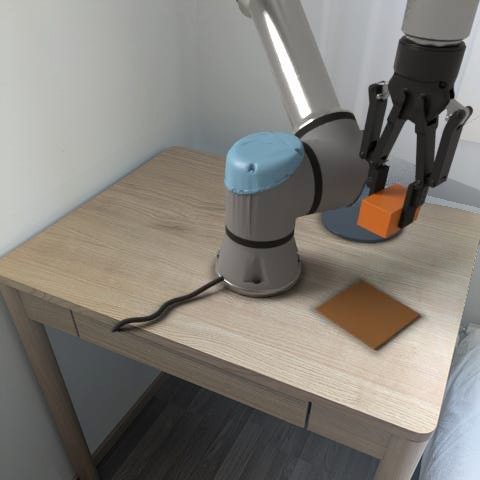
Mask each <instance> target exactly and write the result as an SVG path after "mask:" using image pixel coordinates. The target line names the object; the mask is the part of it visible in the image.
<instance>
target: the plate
mask: <svg viewBox="0 0 480 480" xmlns="http://www.w3.org/2000/svg"><path fill="white" fill-rule="evenodd" d="M360 208H361V203H358V204H355V205H353V206H351V207H343V208H338V209H334V210H329V211H324V212H321V214H320V221H321V224H322V225H323V227H324V228H325V229H326V230H327V231H329V232H330V233H331V234H333V235H334V236H337V237H339V238H342V239H344V240H346V241H351V242H357V243H365V244H366V243H369V244H370V243H381V242H383V241H387V240H390V239H391V238H393V237H395V235H397V233H398V232H399V231H397V232H396V233H394V234H392V235H391V236H389V237H387V238H386V239H385V238H383V237H381V236H379V235H377V234H375V233H373V232H371V231H369V230H367V229H365V228H363V227H361V226H359V225H357V223H358V218H359V213H360Z"/></svg>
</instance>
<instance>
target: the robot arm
mask: <svg viewBox="0 0 480 480" xmlns="http://www.w3.org/2000/svg"><path fill="white" fill-rule="evenodd" d="M235 2H236V3H237V6H238V9H239V10H240V12H241V14H243V16H245V17H246V18H249V19H251V20H252V22H253V25H254V27H255V30H256V33H257V36H258V39H259V42H260V44H261V46H262V50H263V53H264V55H265V57H266V60H267V63H268V66H269V69H270V72H271V73H272V77H273V79H274V82H275V84H276V87H277V90H278V93H279V95H280V98H281V101H282V104H283V107H284V109H285V112H286V115H287V117H288V119H289V122H290V123H289V124H290V126H291V128H292V132H291V133H289V132H286V131H281V130H280V131H277V132H273V131H272V130H268V131H261V132H260V131H259V132H255V133H252V134H249V135H246V136H243V137H242V138H241V139H238V141H236V142H234V144H233V145H232V146H231V148H230V149H229V150H228V152H227V155H226V157H225V170H224V175H223V182H224V205H225V206H224V207H225V208H224V210H225V211H224V215H225V216H224V221H225V222H224V224H225V225H224V227H225V229H224V234H223V237H222V240H221V243H220V246H219V249H218V251H217V253H216V256H215V261H214V272H215V276H216V278H215V279H212V280H211V281H209V282H207V283H206V284H204V285H202V286H200V287H199V288H197V289H196V290H193V291H192V292H190V293H187V294H185V295H181V296H177V297H174V298H171V299H169V300H167V301H165V302H164V303H162V305H160V307H159V308H158V309H157V310H156V311H155V312H153V313H152V314H149V315H145V316H133V317H127V318H123V319H121V320H120V321H118V322H117V323H116V324H114V326H113V327H112V329H110V330H111V333H116V332H118V331H119V330H120V329H121V328H122V327H124V326H126V325H128V324H129V325H130V324H135V323H146V322H147V323H148V322H150V321H153V320H156V319H157V318H159V317H160V316H161V315H162V314H164V312H165V311H166V310H167V309H168V308H169V307H171V306H172V305H175V304H178V303H182V302H185V301H188V300H191V299H193V298H195V297H197V296H199V295H200V294H203V293H204V292H205V291H207V290H208V289H210V288H212V287H214V286H216V285H218V284H221V285H222V286H223V287H224V288H226V289H228V290H229V291H231V292H233V293H236V294H239V295H242V296H246V297H255V298H267V297H272V296H273V297H274V296H277V295H280V294H284V293H285V292H287V291H289V290H291V289H292V288H294V286H296V284H297V283H298V282H299V279H300V277H301V270H302V264H301V257H300V255H299V248H298V246H297V242H296V238H295V231H296V229H295V228H296V221H297V219H298V218H301V217H305V216H309V215H310V216H311V215H315V214H320V213H322V212H324V211H329V210H334V209H338V208H343V207H351V206H353V205H355V204H358V203H362V200H363V199H365V198H367V197H369V196H371V195H373V194H375V193H377V192H379V191H381V190H383V189H385V188H386V184H387V179H388V176H389V171H390V168H391V166H390V165H387V162H389V159H388V158H389V156H390V154H391V152H392V150H393V147H394V146H395V144H396V142H397V140H398V137H399V135H400V134H401V132H402V129H403V128H404V125H405V124H406V122H407V121H409V122H411V123H412V124H414V134H416V144H415V145H416V146H415V172H414V173H415V175H414V177H415V178H414V181H413V182H410V183H408V186H407V188H408V189H407V193H406V196H405V200H404V204H403V208H402V212H401V216H400V220H399V223H398V228H401V230H403V229H405V228H406V227H407V226H409V225H411V224H413V223H414V222H413V219H414V216H415V212H416V209H417V208H419V207H420V206H421V207H422V206H423V205H424V204H425V202H426V198H427V196H428V193H429V189H430V188H432V189H434V188H436V187H439V186H440V185H442V184H444V183H446V182H447V181H448V177H449V173H450V170H451V167H452V164H453V161H454V158H455V155H456V151H457V148H458V144H459V141H460V139H461V135H462V131H463V129H464V126H465V125H466V123H467V122H468V120H469V119H470V118H471V116H472V115H473V113H474V108H473V107H472V106H471V105H466V106H464V105H462V103H461V102H459V101H458V100H456V99H455V98H456V93H455V84H456V81H457V79H458V76H459V73H460V70H461V67H462V63H463V60H464V56H465V52H466V49H467V44H466V42H465V41H464V40H466V39H467V38H469V37H470V35H471V32H472V29H473V25H474V22H475V18H476V14H477V11H478V8H479V5H480V0H406V3H405V9H404V14H403V18H402V24H401V28H400V30H401V32H402V33H403V34H404V35H402V36H401V38H399V40H398V43H397V48H396V53H395V57H394V60H393V61H394V62H393V66H392V67H393V74H392V76H391V77H390V79H389V80H388V81H385V80H380V81H377V82H374V83H371V84H369V85H368V89H367V91H368V102H369V103H368V108H367V113H366V117H365V123H364V128H363V129H360V126H359V123H358V121H357V118H356V115H355V114H354V112H352V111H351V110H348V109H346V108H342V106H341V103H340V101H339V99H338V96H337V93H336V90H335V88H334V86H333V82H332V81H331V80H332V79H331V77H330V75H329V73H328V70H327V67H326V64H325V62H324V60H323V56H322V54H321V51H320V49H319V46H318V44H317V41H316V39H315V38H316V37H315V36H314V33H313V31H312V28H311V25H310V23H309V20H308V17H307V15H306V12H305V10H304V7H303V4H302V2H301V0H235ZM389 98H390V100H391V103H392V107H391V109H390V112H389V113H388V116H387V118H386V124H385V126H384V128H383V125H384V122H385V121H384V120H385V116H386V111H387V106H388V100H389ZM445 110H446V111H447V112H446V116H445V122H446V124H445V125H444V127H443V130H442V133H441V137H440V140H439V144H438V147H437V151H436V138H437V130H438V127H439V123H440V121H439V120H440V114H442V113H443V112H444V111H445ZM382 129H383V130H382ZM435 154H436V155H435Z"/></svg>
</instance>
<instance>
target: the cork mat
mask: <svg viewBox="0 0 480 480" xmlns="http://www.w3.org/2000/svg"><path fill="white" fill-rule="evenodd" d="M315 311H316V312H317V313H319V314H321V315H322V316H323V317H325V318H326V319H328V320H330V321H331V322H332V323H334V324H335V325H337V326H338V327H340V328H341V329H343V330H344V331H346V332H347V333H349V334H350V335H352V336H353V337H354V338H356V339H357V340H359V341H361V342H362V343H364V344H365V345H367V346H368V347H369V348H370V349H372V350H374V351H375V350H377V349H378V348H380V347H381V346H382V345H383V344H385V343H386V342H388V340H390V339H391V338H393V337H394V336H395V335H397V334H398V333H400V332H401V331H402V330H403V329H404V328H406V327H407V326H409V325H410V324H411V323H412V322H414V321H415V320H416V319H418V318H419V317H421V313H419V312H417V311H416V310H414V309H412V308H410V307H409V306H407V305H405V303H404V304H403V303H402V302H400V301H399V300H397V299H396V298H394V297H392V296H390V295H388V294H386V293H385V292H383V291H382V290H380V289H379V288H377V287H375V286H373V285H372V284H370V283H368V282H367V281H365V280H363V279H360V280H358V281H357V282H356V283H354V284H353V285H351V286H348V288H346V289H345V290H344V289H343V291H341V292H340V293H338V294H337V295H335V296H333V297H331V298H330V299H328V300H327V301H325V302H324V303H322V304H320V305H319V306H317V307H316V308H315Z"/></svg>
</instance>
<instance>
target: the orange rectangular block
mask: <svg viewBox="0 0 480 480" xmlns="http://www.w3.org/2000/svg"><path fill="white" fill-rule="evenodd" d="M407 189H408V187H405V186H403V185H401V184H398V183H392V184H390V185H388V186H386V187H385V189H383V190H381V191H379V192H377V193H375V194H373V195H371V196H369V197H367V198H365V199H363V200H362V203H361V208H360V213H359V218H358V223H357V225H359V226H361V227H363V228H365V229H367V230H369V231H371V232H373V233H375V234H377V235H379V236H381V237H383V238H385V239H386V238H387V237H389V236H391V235H392V234H394V233H396V232H397V231H398V232H399V231H400V230H402V229H401V228H398V223H399V220H400V216H401V212H402V208H403V204H404V200H405V196H406V193H407ZM421 207H422V206H420V207H419V208H417V209H416V212H415V216H414V219H413V223H415V222H416V221H417V220H418V217H419V214H420V211H421ZM398 232H397V233H398ZM397 233H396V234H397Z"/></svg>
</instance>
